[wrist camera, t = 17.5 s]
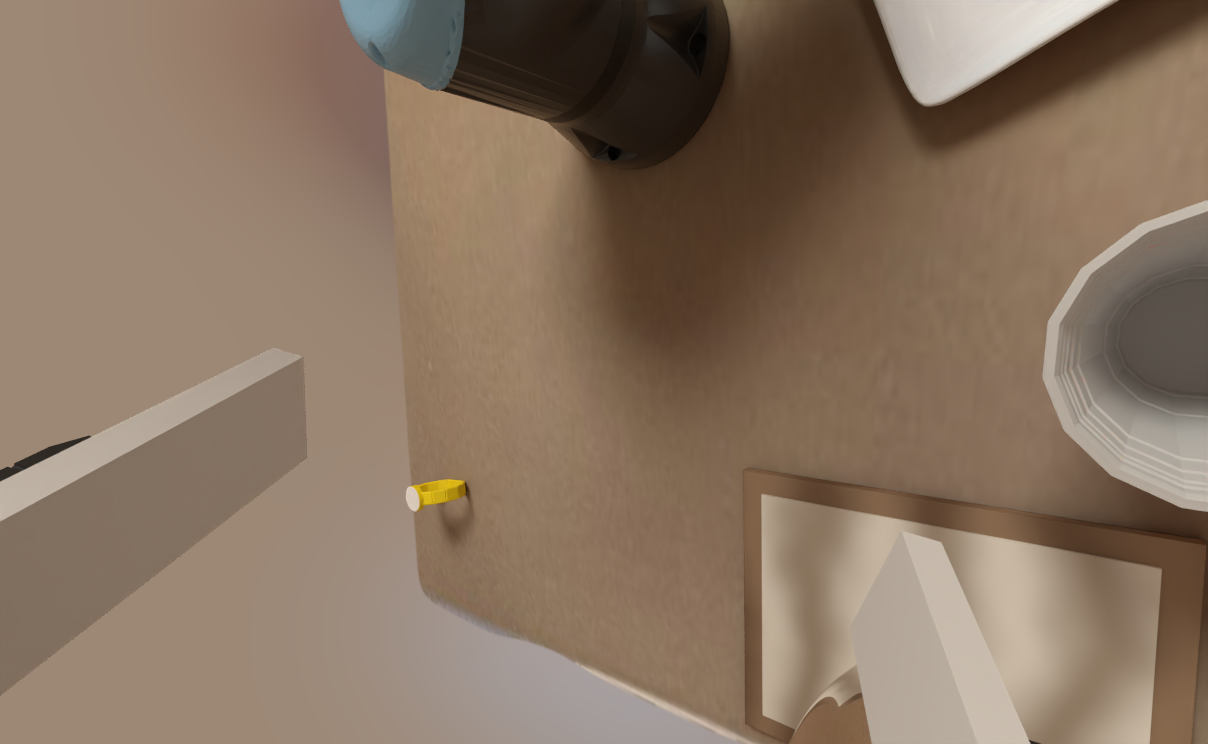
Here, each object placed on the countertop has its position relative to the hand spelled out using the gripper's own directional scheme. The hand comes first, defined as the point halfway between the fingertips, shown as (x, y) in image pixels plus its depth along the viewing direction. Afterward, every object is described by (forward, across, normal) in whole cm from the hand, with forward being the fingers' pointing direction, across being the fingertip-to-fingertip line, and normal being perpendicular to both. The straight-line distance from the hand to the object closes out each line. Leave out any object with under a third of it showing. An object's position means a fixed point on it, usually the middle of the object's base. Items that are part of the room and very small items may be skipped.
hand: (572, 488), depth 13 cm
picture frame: (+21, +21, -20) cm, 36 cm away
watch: (+42, -19, -36) cm, 59 cm away
